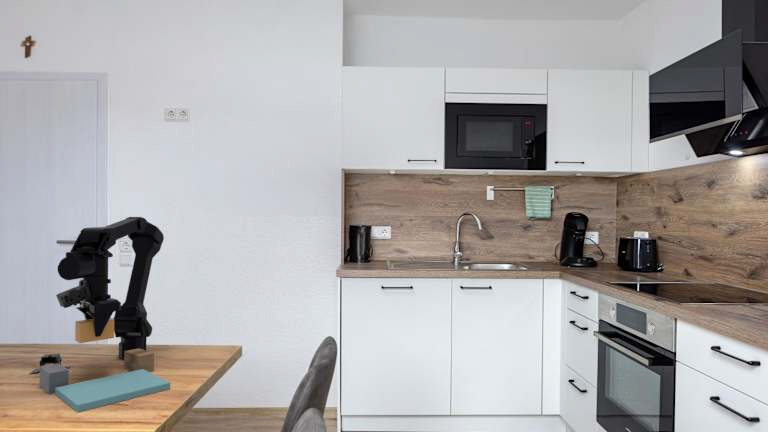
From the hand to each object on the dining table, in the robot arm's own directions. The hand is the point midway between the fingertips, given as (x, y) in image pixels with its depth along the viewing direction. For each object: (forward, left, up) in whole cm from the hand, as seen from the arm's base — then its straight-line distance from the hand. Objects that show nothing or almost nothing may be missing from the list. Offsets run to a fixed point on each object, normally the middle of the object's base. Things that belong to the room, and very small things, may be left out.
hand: (95, 335), depth 130 cm
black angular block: (+6, -14, -12) cm, 19 cm away
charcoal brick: (+10, +3, -11) cm, 15 cm away
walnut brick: (-10, +3, -11) cm, 15 cm away
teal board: (+1, +16, -11) cm, 19 cm away
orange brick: (0, 0, -1) cm, 1 cm away
